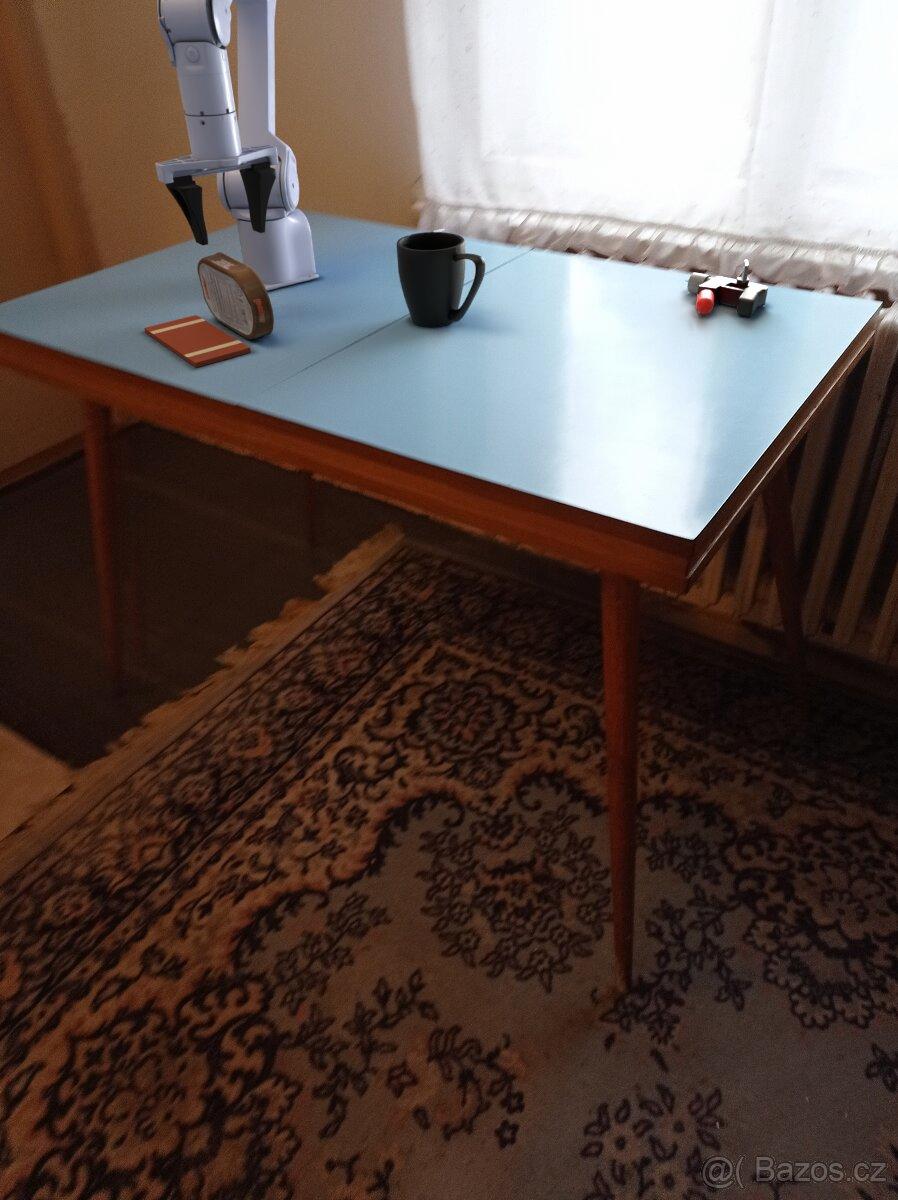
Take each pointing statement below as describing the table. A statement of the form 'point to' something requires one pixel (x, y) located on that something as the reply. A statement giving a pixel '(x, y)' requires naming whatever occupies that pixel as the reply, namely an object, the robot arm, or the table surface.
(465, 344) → the table surface
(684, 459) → the table surface
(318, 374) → the table surface
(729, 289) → the red and grey device
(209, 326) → the towel
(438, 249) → the mug
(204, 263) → the tin
